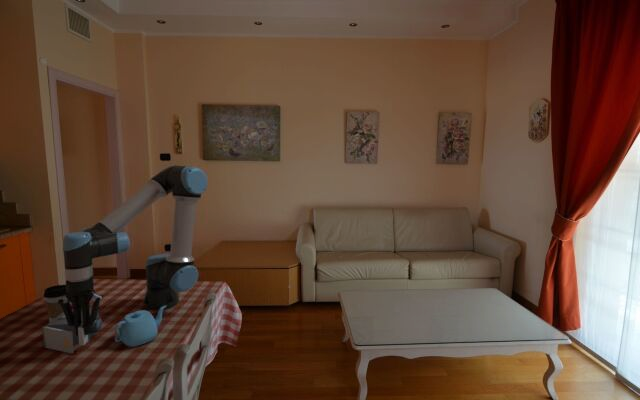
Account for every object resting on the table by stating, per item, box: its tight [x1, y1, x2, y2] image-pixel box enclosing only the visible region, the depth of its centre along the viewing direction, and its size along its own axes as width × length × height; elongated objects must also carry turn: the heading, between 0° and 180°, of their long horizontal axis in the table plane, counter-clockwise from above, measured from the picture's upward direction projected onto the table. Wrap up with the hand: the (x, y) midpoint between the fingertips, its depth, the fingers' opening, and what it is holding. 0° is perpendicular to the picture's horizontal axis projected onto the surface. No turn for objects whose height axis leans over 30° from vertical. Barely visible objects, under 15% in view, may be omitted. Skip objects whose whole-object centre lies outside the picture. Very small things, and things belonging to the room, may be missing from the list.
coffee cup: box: [43, 284, 71, 323], centre depth 129 cm, size 8×8×15 cm
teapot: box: [114, 305, 167, 348], centre depth 121 cm, size 13×11×18 cm
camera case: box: [46, 310, 103, 346], centre depth 120 cm, size 14×10×9 cm
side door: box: [42, 325, 75, 354], centre depth 111 cm, size 12×2×8 cm, turn 76°
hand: (83, 343), depth 111 cm, fingers closed
